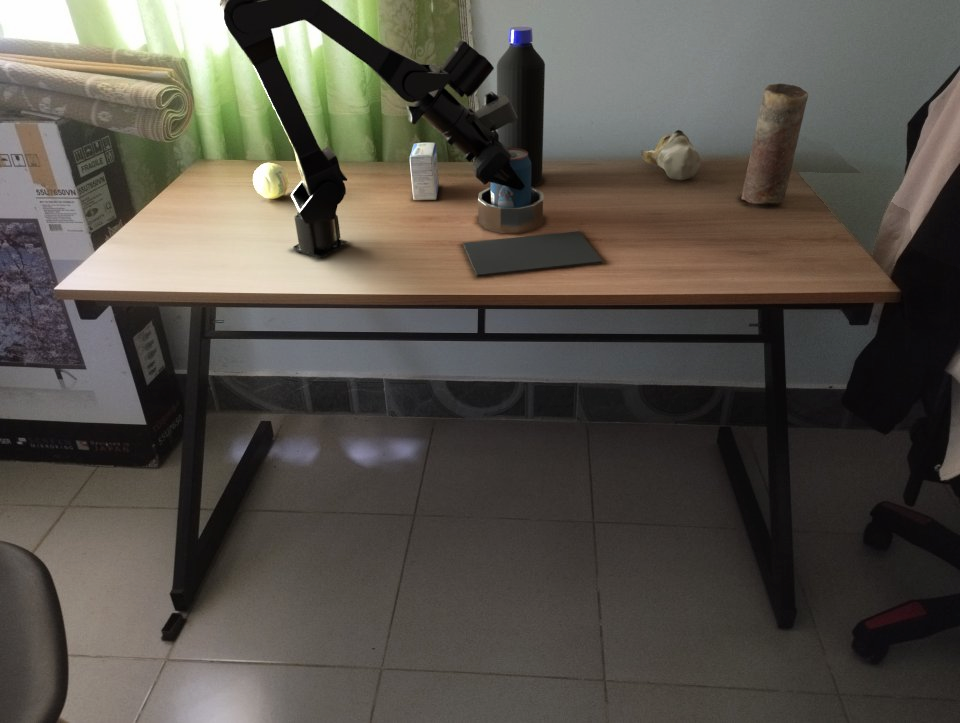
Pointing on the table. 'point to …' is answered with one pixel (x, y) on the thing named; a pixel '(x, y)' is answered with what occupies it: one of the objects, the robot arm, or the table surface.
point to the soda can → (509, 195)
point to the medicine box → (424, 171)
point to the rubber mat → (530, 253)
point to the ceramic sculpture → (675, 156)
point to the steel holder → (510, 214)
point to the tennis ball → (271, 180)
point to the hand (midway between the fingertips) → (518, 180)
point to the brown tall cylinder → (774, 144)
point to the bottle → (523, 97)
